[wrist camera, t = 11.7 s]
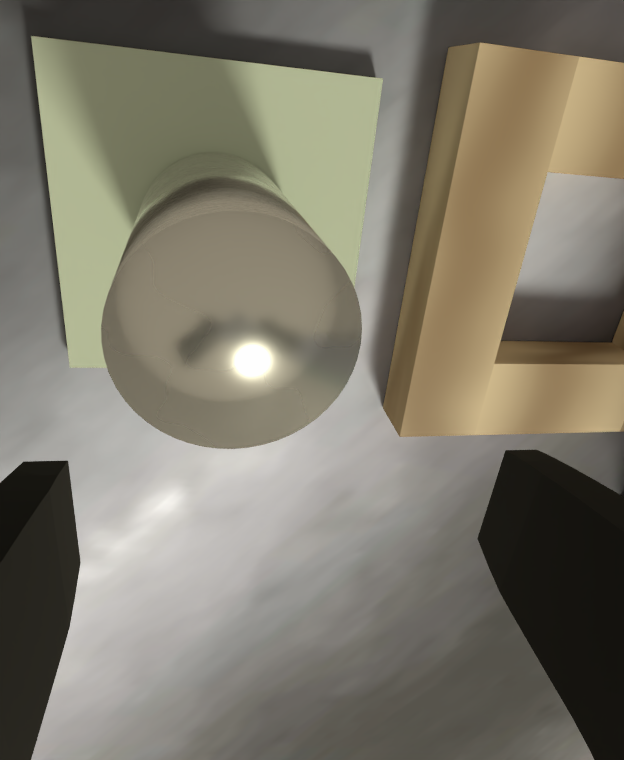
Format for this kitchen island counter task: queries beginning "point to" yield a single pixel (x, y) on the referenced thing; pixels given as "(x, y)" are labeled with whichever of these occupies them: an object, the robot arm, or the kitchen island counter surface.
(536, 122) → the bore block
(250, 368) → the polished metal cylinder
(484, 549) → the robot arm
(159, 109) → the sage mat
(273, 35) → the kitchen island counter surface
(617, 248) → the kitchen island counter surface
